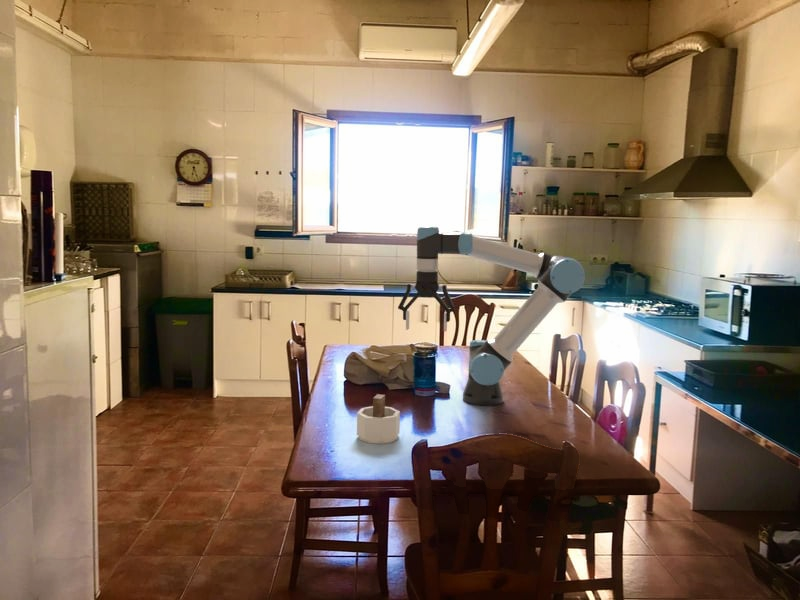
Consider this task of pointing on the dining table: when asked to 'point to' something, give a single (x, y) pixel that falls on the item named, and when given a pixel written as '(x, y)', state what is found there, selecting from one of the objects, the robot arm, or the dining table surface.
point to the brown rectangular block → (379, 406)
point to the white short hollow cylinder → (378, 426)
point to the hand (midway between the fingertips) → (426, 330)
